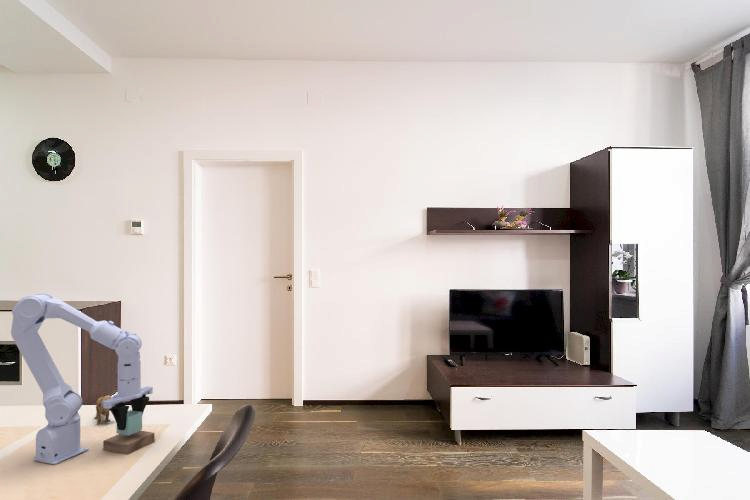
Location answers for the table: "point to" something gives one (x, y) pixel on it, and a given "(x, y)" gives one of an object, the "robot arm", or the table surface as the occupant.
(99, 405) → the lion figurine
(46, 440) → the robot arm
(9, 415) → the table surface
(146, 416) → the table surface
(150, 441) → the walnut base block
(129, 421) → the teal brick
